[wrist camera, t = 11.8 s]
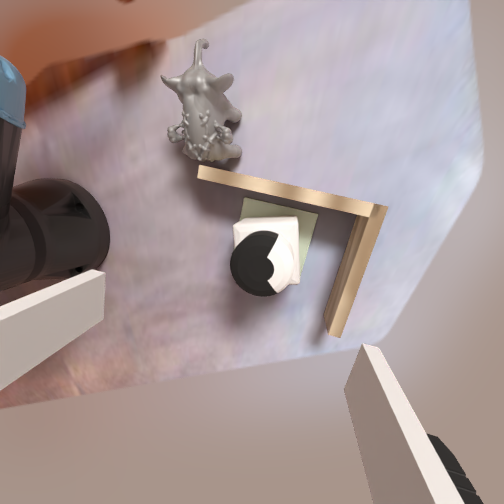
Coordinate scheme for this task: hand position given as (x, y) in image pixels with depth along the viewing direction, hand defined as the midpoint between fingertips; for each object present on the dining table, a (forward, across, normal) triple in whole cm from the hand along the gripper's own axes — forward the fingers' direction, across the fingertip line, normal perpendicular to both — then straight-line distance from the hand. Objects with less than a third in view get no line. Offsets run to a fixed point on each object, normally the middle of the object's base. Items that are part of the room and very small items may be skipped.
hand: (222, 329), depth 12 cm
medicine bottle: (+23, +1, 0) cm, 23 cm away
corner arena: (+23, +1, -1) cm, 23 cm away
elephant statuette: (+23, -10, +14) cm, 29 cm away
